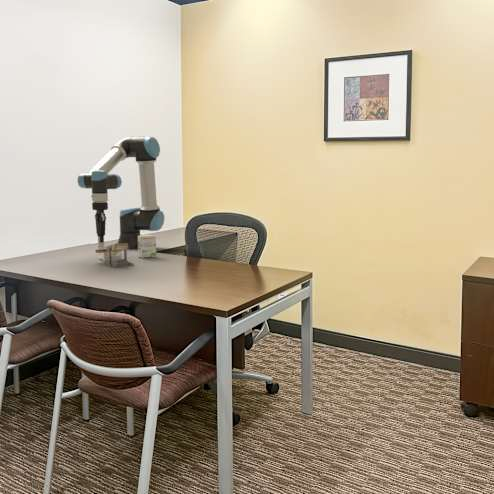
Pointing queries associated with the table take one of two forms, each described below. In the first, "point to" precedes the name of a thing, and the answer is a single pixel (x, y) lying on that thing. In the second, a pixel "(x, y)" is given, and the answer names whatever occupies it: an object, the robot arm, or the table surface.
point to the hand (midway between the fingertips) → (101, 248)
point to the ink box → (147, 246)
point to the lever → (114, 248)
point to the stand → (118, 262)
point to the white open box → (115, 256)
